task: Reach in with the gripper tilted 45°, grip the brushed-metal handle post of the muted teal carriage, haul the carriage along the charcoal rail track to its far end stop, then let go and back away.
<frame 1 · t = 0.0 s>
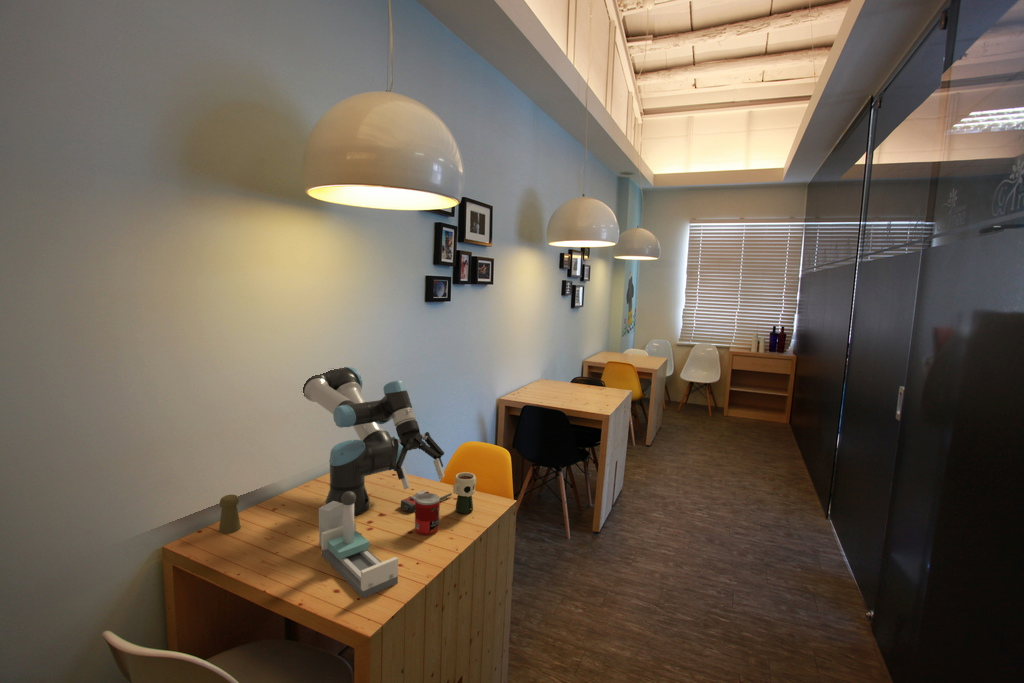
hand: (425, 482, 157), 15 cm above the table, tool tilted 35°, fingers open, 13 cm apart
rail track: (358, 568, 134), on the table
walkie-talkie: (425, 504, 176), on the table
olive pawn figure: (229, 529, 152), on the table
carriage: (348, 519, 137), point 12 cm above the table, slide at -6.0 cm
skincare box: (331, 543, 147), on the table
character mug: (464, 511, 171), on the table
canned food: (426, 530, 157), on the table
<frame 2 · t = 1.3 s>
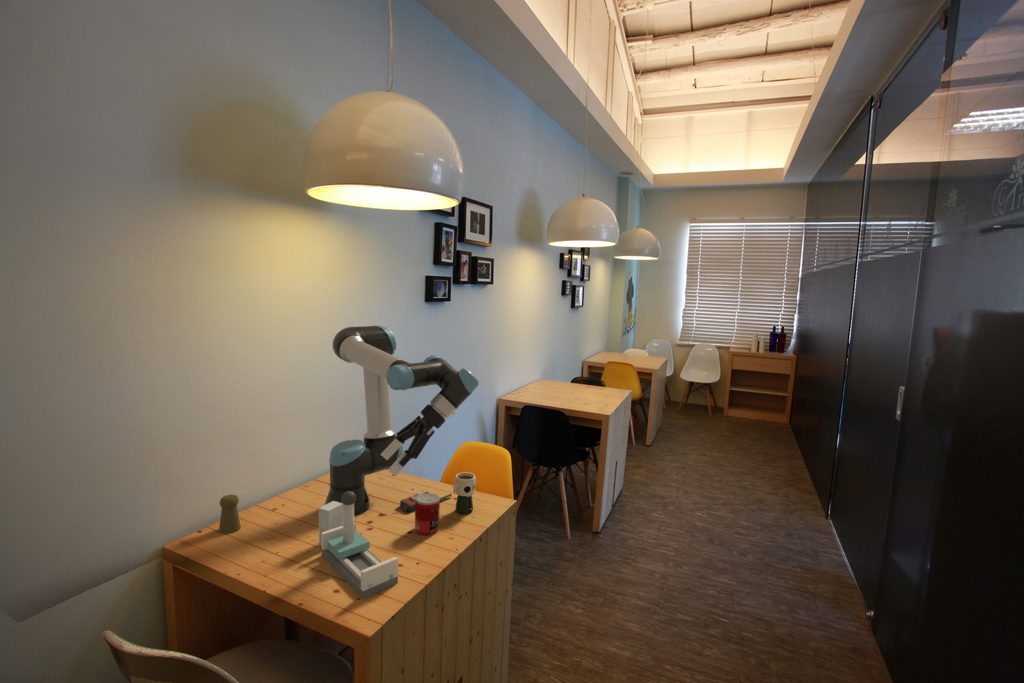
hand: (387, 464, 141), 27 cm above the table, tool tilted 45°, fingers open, 13 cm apart
nothing on the table moved.
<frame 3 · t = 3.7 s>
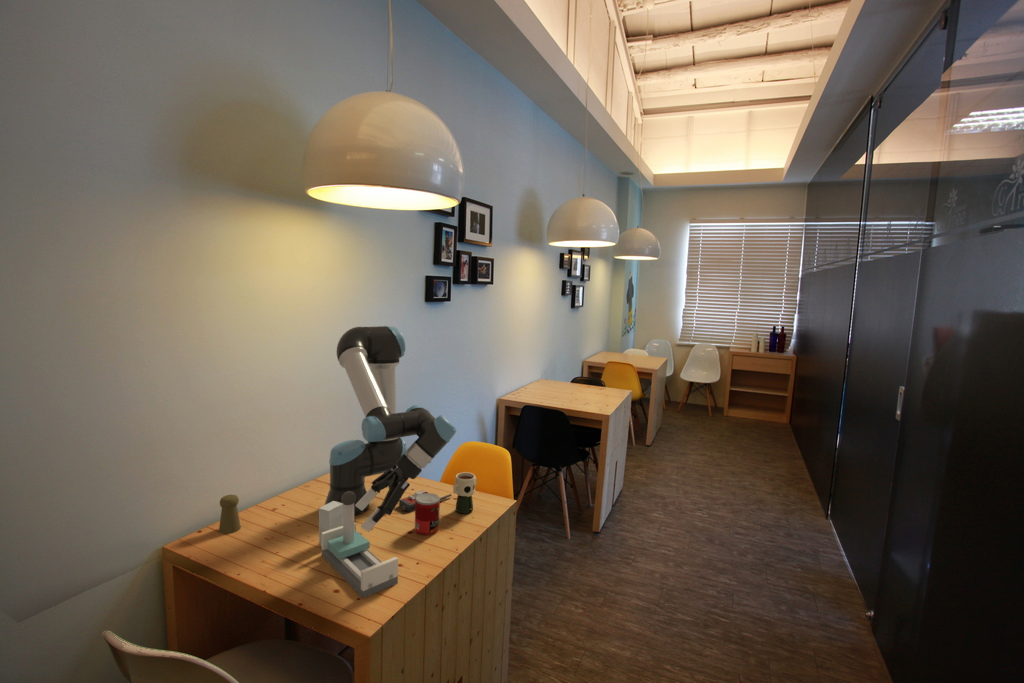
hand: (361, 518, 137), 13 cm above the table, tool tilted 45°, fingers open, 13 cm apart
nothing on the table moved.
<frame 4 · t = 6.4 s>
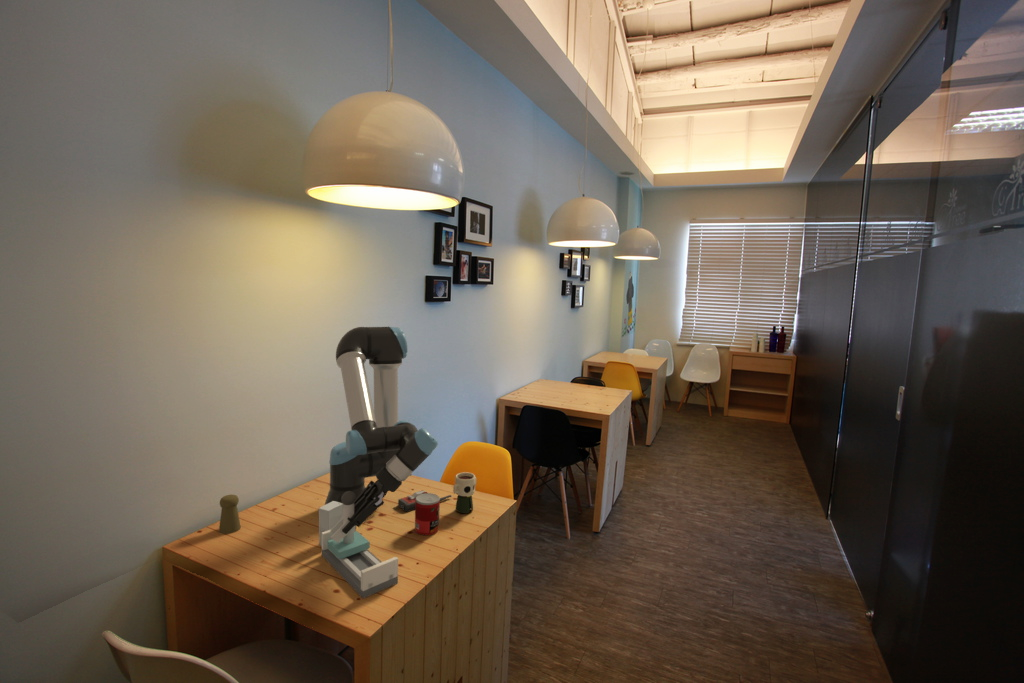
hand: (334, 536, 136), 8 cm above the table, tool tilted 45°, fingers closed on carriage, 3 cm apart
carriage: (348, 519, 137), point 12 cm above the table, slide at -6.0 cm, touching gripper
everything else where it was.
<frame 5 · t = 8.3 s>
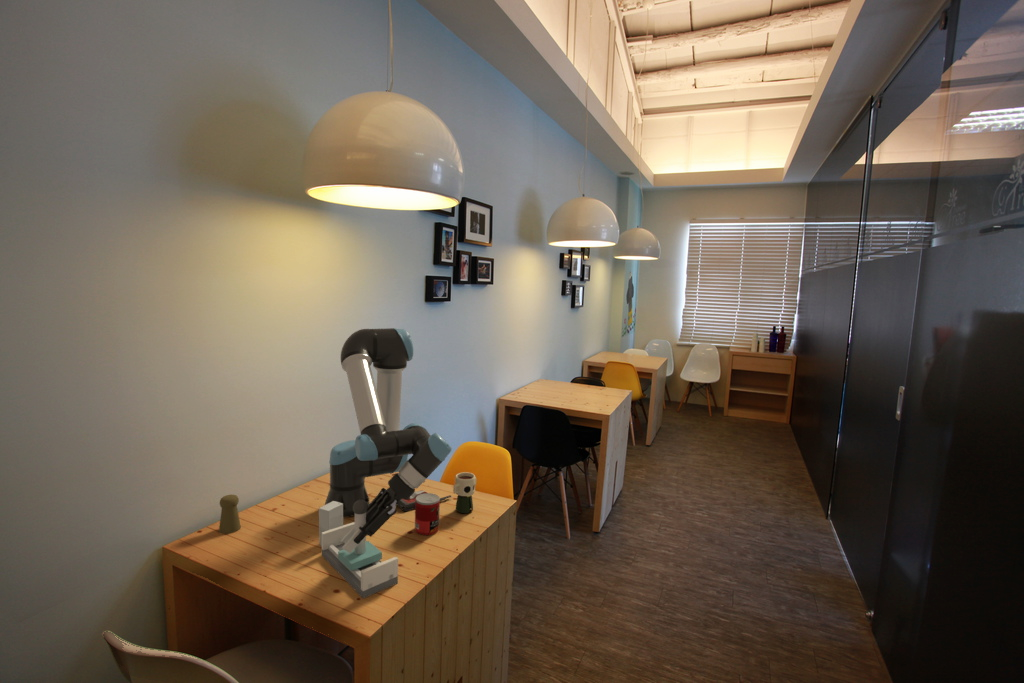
hand: (345, 546, 130), 8 cm above the table, tool tilted 45°, fingers closed on carriage, 3 cm apart
carriage: (360, 529, 132), point 12 cm above the table, slide at 1.2 cm, touching gripper
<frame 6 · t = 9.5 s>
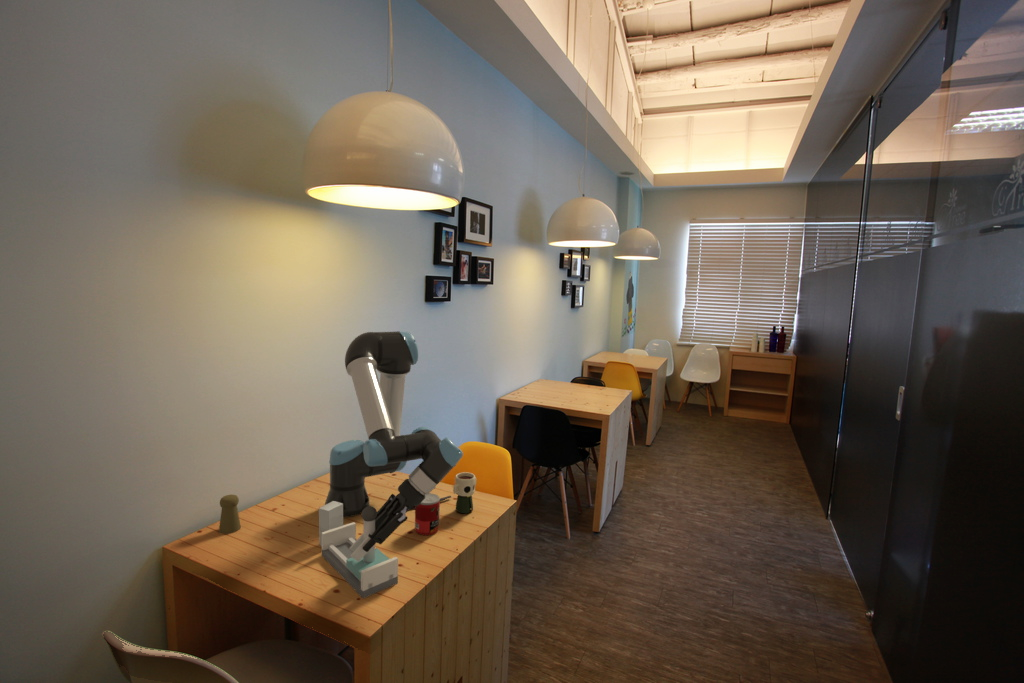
hand: (354, 554, 127), 8 cm above the table, tool tilted 45°, fingers closed on carriage, 3 cm apart
carriage: (369, 537, 128), point 12 cm above the table, slide at 6.4 cm, touching gripper
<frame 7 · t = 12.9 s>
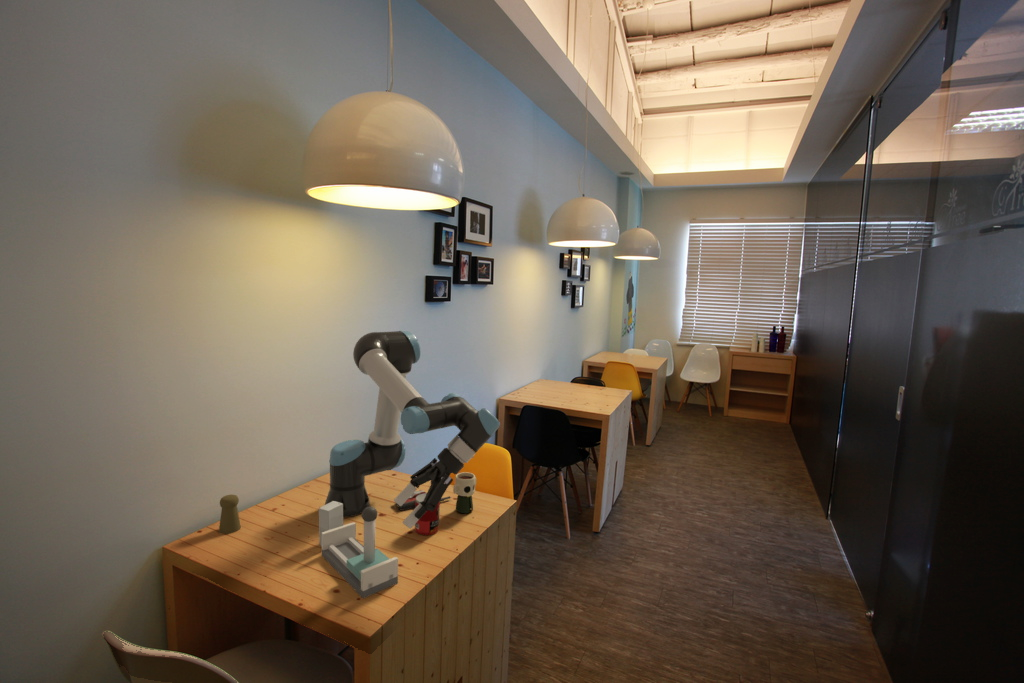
hand: (401, 514, 130), 17 cm above the table, tool tilted 45°, fingers open, 13 cm apart
carriage: (369, 537, 128), point 12 cm above the table, slide at 6.6 cm
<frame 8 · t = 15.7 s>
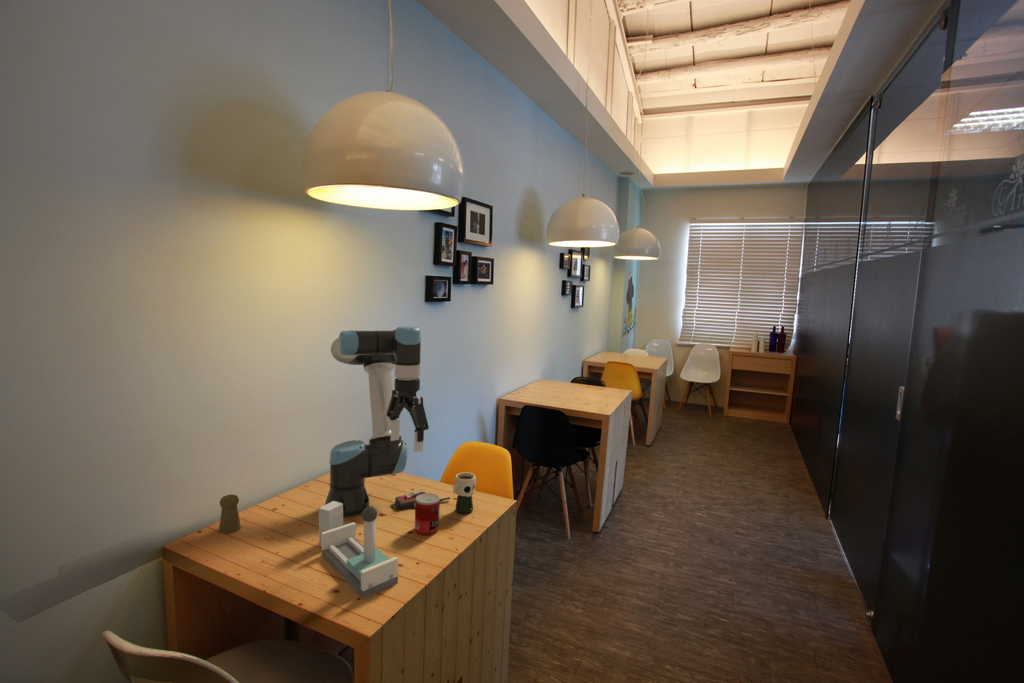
hand: (406, 445, 146), 31 cm above the table, tool pointing down, fingers open, 13 cm apart
at the end: carriage slide at 6.6 cm; the gripper is holding nothing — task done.
